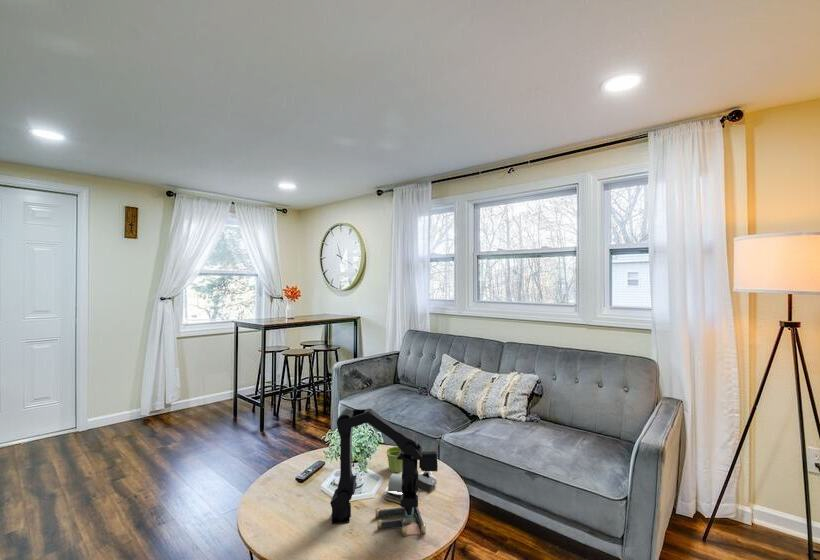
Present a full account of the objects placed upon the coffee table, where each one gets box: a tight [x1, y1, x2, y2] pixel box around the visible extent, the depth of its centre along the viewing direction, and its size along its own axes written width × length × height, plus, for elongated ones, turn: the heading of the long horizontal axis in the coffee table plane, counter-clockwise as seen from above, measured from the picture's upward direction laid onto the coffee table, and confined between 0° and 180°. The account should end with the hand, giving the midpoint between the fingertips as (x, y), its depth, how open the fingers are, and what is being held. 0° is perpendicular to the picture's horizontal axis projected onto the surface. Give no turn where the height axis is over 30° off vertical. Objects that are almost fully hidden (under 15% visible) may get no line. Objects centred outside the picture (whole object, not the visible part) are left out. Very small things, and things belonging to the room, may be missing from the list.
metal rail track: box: [374, 506, 427, 538], centre depth 140 cm, size 16×14×3 cm
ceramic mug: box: [387, 473, 402, 492], centre depth 162 cm, size 11×8×8 cm
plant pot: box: [385, 446, 402, 473], centre depth 181 cm, size 9×9×9 cm
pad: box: [404, 523, 422, 536], centre depth 138 cm, size 5×5×1 cm
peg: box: [404, 507, 415, 520], centre depth 143 cm, size 3×3×7 cm
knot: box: [418, 471, 438, 487], centre depth 167 cm, size 8×8×6 cm
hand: (409, 512), depth 143 cm, fingers closed on peg, 3 cm apart
